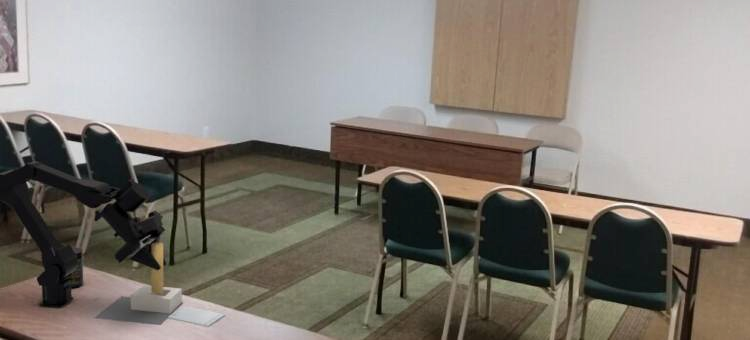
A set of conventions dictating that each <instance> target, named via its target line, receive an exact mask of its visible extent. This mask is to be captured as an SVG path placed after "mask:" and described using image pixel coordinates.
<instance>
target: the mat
mask: <svg viewBox="0 0 750 340" xmlns="http://www.w3.org/2000/svg"><path fill="white" fill-rule="evenodd" d="M183 304H184V302H182V303H181V304H180V305H179V306H178V307H177V308H175V309H174V310H173V311H172V312H171V313H161V312H151V311H141V310H132V309H131V296H123V295H122V296H120V297H119V298H118V299H116V300H115V301H114V302H113V303H111V304H110V305H109V306H107V307H106V308H104V309H103V310H102V311H101V312H100V313H98V314H97V315H96V316H94V319H100V320H109V321H110V320H111V321H119V322H120V321H121V322H129V323H135V324H136V323H137V324H147V325H156V326H157V325H158V326H161V325H162V324H163V323H164V322H166V320H167V319H169V318H168V317H169V316H170V315H171V314H173V313H175V312H176V311H178V310H179V309H180V307H181V306H182V305H183Z"/></svg>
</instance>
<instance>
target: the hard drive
mask: <svg viewBox="0 0 750 340" xmlns="http://www.w3.org/2000/svg"><path fill="white" fill-rule="evenodd" d="M225 317H226V314H223V313H220V312H219V313H218V312H215V311H209V310H204V309H201V308H195V307H190V306H183V307H182V308H179V309H177V310H176V311H175V312H173V313H172V314H171V315H170V316H169V317H168V318H167V319H170V320H174V321H175V320H176V321H178V322H183V323H189V324H193V325H198V326H202V327H207V328H209V327H211V326H212V325H214V324H216V323H217V322H218V321H220V320H222V319H223V318H225Z"/></svg>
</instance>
